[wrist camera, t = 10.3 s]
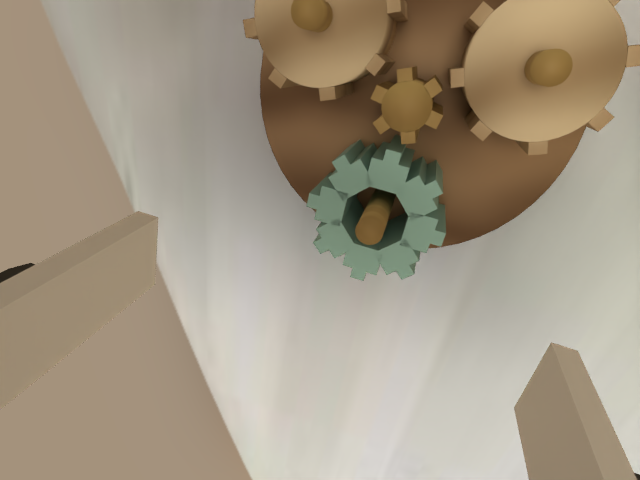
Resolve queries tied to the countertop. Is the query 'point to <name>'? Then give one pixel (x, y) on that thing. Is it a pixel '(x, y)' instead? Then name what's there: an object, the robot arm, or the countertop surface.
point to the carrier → (439, 94)
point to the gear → (401, 232)
